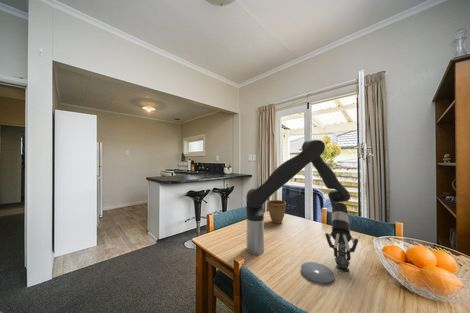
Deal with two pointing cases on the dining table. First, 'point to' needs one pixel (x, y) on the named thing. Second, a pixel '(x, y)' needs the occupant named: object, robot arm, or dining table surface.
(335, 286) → the dining table surface
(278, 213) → the plant pot
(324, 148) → the robot arm
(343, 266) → the dark ornate figurine
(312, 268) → the dish
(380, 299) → the dining table surface
